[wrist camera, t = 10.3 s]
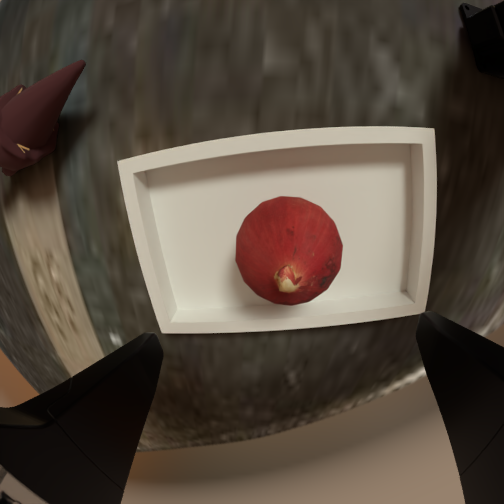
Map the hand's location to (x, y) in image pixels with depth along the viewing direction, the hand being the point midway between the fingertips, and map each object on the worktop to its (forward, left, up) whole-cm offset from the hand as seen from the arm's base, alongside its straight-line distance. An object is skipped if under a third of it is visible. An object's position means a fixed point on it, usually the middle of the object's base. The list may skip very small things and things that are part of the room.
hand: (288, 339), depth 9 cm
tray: (0, 0, -12) cm, 12 cm away
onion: (0, 0, -11) cm, 11 cm away
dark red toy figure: (+18, -12, -12) cm, 25 cm away
